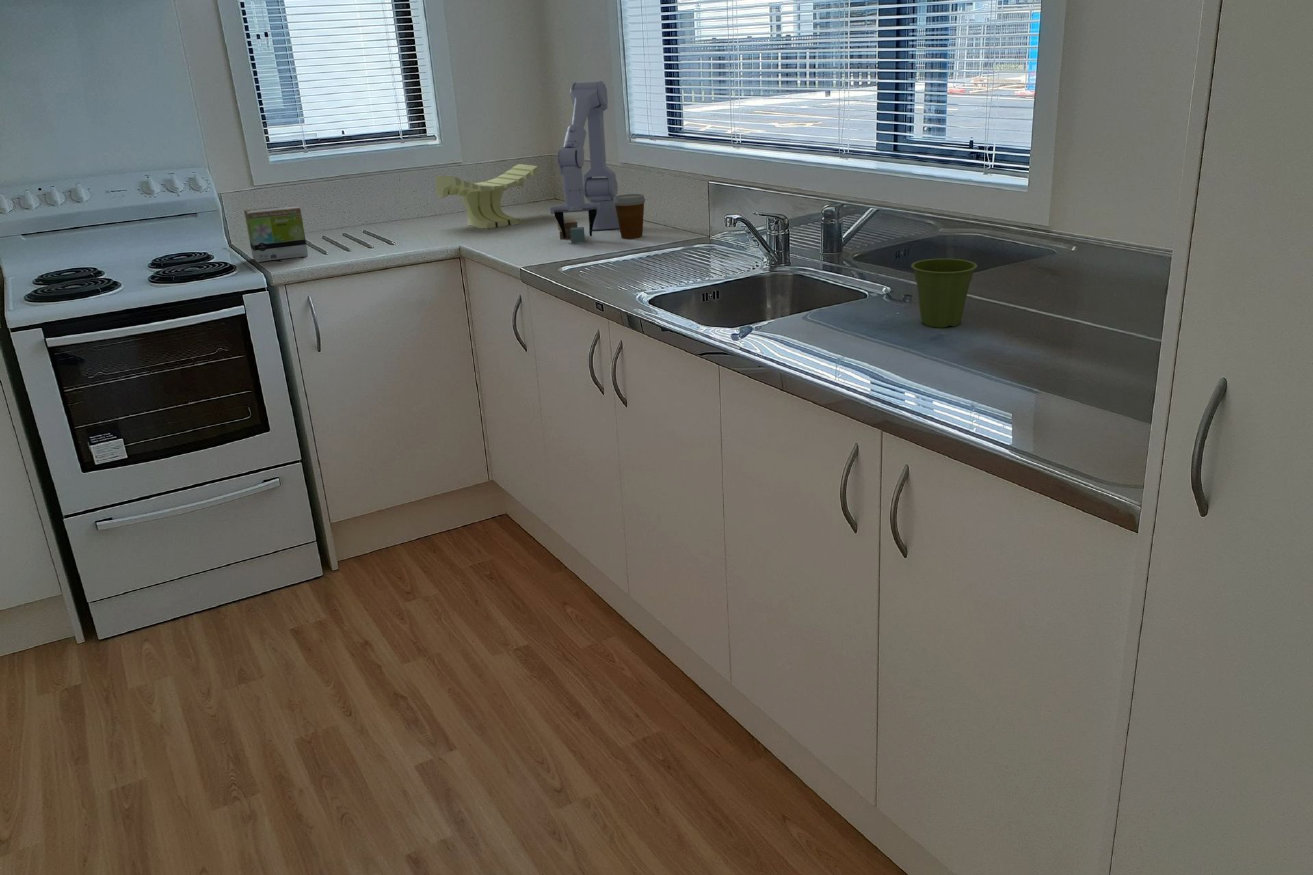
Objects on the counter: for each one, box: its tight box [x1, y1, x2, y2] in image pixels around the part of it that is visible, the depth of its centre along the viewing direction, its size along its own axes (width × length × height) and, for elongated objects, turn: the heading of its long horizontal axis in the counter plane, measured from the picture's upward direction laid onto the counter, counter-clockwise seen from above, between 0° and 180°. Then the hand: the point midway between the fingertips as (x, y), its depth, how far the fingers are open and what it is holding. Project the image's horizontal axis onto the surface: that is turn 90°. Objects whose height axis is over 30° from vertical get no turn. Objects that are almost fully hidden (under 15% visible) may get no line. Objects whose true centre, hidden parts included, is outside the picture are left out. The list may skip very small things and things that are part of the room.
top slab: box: [557, 219, 579, 232], centre depth 308 cm, size 5×5×2 cm
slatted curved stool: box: [435, 163, 539, 230], centre depth 340 cm, size 30×16×18 cm, turn 125°
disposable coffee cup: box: [613, 193, 646, 240], centre depth 300 cm, size 10×10×12 cm
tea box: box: [244, 204, 309, 263], centre depth 304 cm, size 15×10×15 cm
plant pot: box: [910, 258, 978, 329], centre depth 190 cm, size 12×12×11 cm
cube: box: [570, 226, 586, 244], centre depth 300 cm, size 4×4×4 cm
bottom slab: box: [559, 230, 571, 240], centre depth 308 cm, size 5×5×2 cm
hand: (577, 236), depth 300 cm, fingers open, 7 cm apart
